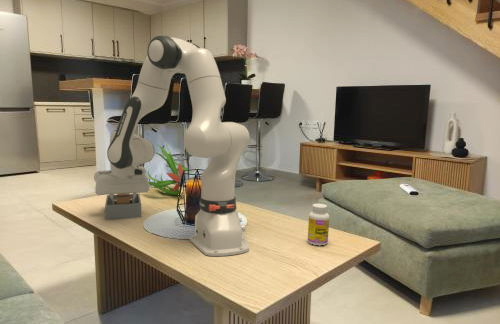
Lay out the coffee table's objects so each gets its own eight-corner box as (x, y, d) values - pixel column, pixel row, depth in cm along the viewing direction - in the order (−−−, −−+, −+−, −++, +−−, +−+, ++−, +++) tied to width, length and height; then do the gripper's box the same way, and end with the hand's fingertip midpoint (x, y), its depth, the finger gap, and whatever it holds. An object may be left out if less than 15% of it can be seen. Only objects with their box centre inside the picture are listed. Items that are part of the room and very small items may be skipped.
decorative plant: (172, 214, 168) (136, 200, 187) (212, 194, 185) (176, 183, 205) (163, 161, 159) (126, 151, 179) (206, 145, 177) (168, 138, 196)
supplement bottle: (312, 247, 118) (314, 208, 116) (304, 240, 125) (306, 203, 123) (331, 245, 120) (333, 207, 118) (322, 238, 126) (324, 202, 124)
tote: (141, 217, 145) (141, 203, 144) (105, 219, 141) (105, 205, 140) (139, 205, 161) (139, 193, 161) (107, 207, 157) (107, 195, 156)
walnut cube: (130, 209, 146) (129, 197, 145) (116, 210, 144) (116, 197, 143) (130, 206, 150) (129, 194, 150) (117, 206, 149) (116, 194, 148)
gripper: (93, 172, 139) (94, 207, 141) (149, 170, 145) (150, 204, 147) (94, 169, 144) (95, 203, 147) (148, 167, 151) (149, 200, 153)
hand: (123, 204), depth 147 cm, fingers closed on walnut cube, 5 cm apart
